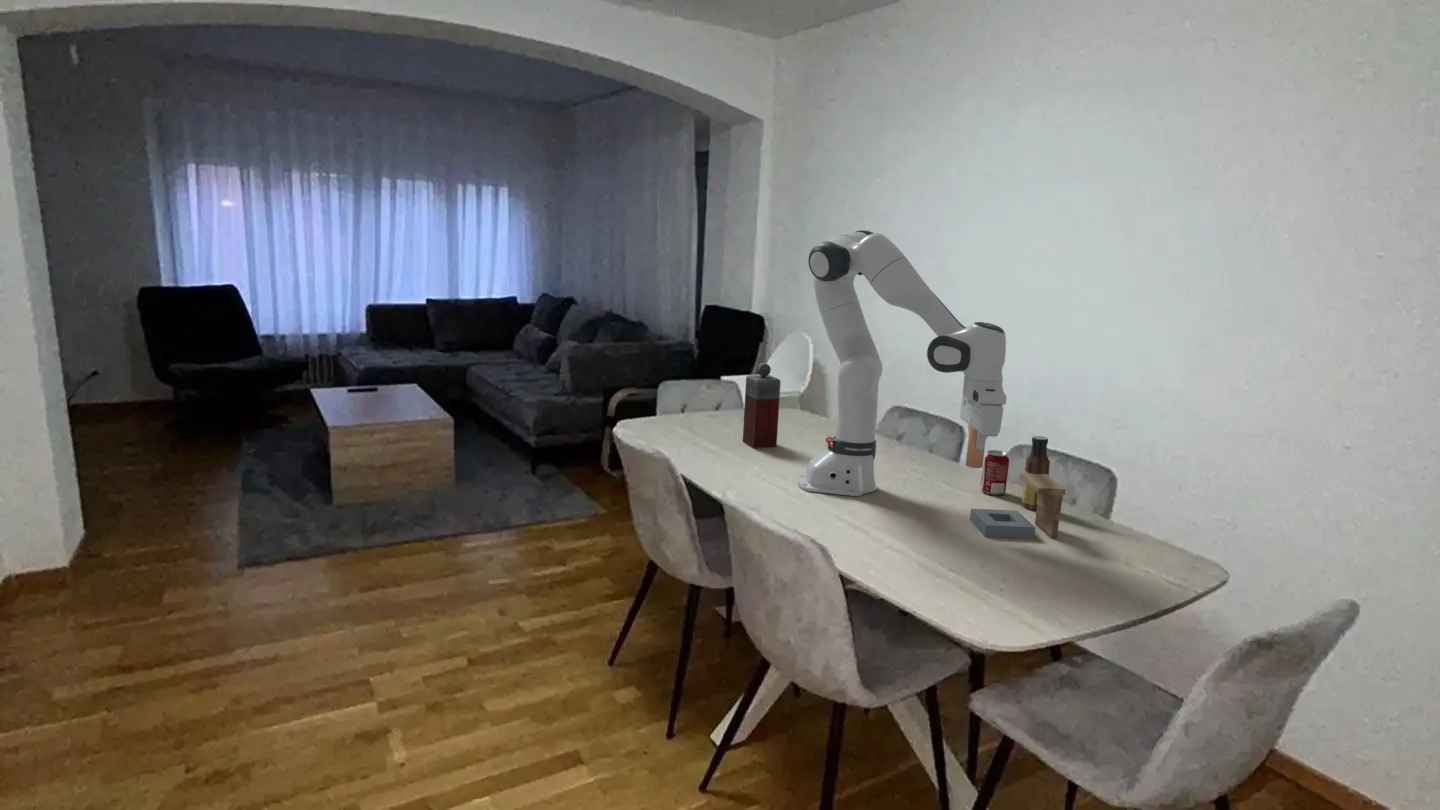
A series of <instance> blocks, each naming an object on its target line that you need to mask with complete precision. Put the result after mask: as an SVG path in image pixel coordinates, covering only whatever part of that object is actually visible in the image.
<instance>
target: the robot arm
mask: <svg viewBox="0 0 1440 810" xmlns="http://www.w3.org/2000/svg"><path fill="white" fill-rule="evenodd" d="M808 267H809V270H810V273H811V274H812V275H813V277H814V279H813V287H814V293H815V298H816V303H817V307H818V310H819V312H820V317H821V319H822V322H823V325H824V328H825V332H826V335H827V336H828V340H829V342H830V343H831V345H832V348H833V349H834V352H835V353H836V356H837V358H838V361H839V363H840V366H839V368H838V372H837V375H838V376H837V415H836V416H837V417H836V426H835V427H836V430H835V435H834V436H833V437H832V436H831V435H826V436H825V437H824V439H825V440H824V441H825V442H826V444H827V449H825V450H824V451H822V452H821V453H819V454H818V455H816V456H814V457H813V458H811V460H810V461H809V462H808V463H807V467H806V471H805V473H802V474H800V475H799V476H798V477H797V484H798V486H799V487H800V488H801V489H802V490H804V491H806V492H813V493H822V494H830V495H831V494H833V495H843V496H851V497H860V496H863V495H864V494H868V493H872V492H875V491H876V490H877V485H876V479H875V469H874V468H875V463H874V462H875V461H874V460H875V458H876V452H877V440H876V430H877V419H878V396H879V383H880V379H881V377H882V373H883V363H882V361H881V357H880V354H879V352H878V350H877V347H876V345H875V342H874V339H873V337H872V335H871V333H870V331H869V328H868V325H867V321H866V318H865V316H864V313H863V310H862V306H861V303H860V301H859V298H858V294H857V292H856V289H855V287H854V286H855V285H854V281H855V277H856V276H857V275H858V276H863V277H864V278H865V279H866V280H867V282H868V283H869V285H870V286H871V288H872V289H873V290H874V291H875V292H876V294H877V295H878V296H879V297H880V298H881V299H882V300H883V301H885V302H886V303H887V304H888V305H890V306H893V307H897V308H902V309H904V310H908V311H909V312H912V313H914V314H915V315H917V316H919V317H920V318H921V319H922V320H923V321H924V322H925V323H926V324H927V325H928V327H929V328H930V329H931V330H932V332H934V334H935V335H936V337H935V338H933V339H932V340H931V341H930V343H929V344H928V347H927V350H926V357H927V360H928V363H929V364H930V366H931V367H932V368H933V369H934V370H935V371H937V372H940V373H945V374H951V373H955V372H956V373H958V372H962V373H963V374H964V375H963V376H964V377H963V386H962V387H963V388H962V397H961V404H960V410H959V411H960V412H959V416H960V420H963V421H964V422H965V423H966V424H967V432H968V433H969V429H970V419H971V418H972V427H973V428H974V429H975V430H977V431H978V432H977V435H978V437H977V441H976V442H975V447H976V448H977V449H984V445H985V446H986V441H987V439H988V437H992V438H993V437H998V436H999V433H1000V431H1001V427H1002V422H1003V414H1004V406H1005V405H1006V403H1007V395H1006V393H1005V391H1004V387H1003V380H1004V379H1003V372H1002V371H1003V367H1004V364H1005V362H1006V353H1007V352H1006V348H1007V339H1006V333H1005V330H1003V328H1002V327H1000V326H998V325H995V324H993V323H989V322H983V321H977V322H973V323H972V324H970V325H969V326H967V327H966V326H964V324H962V323H961V322H960V321H959V320H958V319H957V318H956V317H955V315H954V314H953V313H952V312H951V311H950V309H949V308H948V307H947V306H946V305H945V304H944V302H942V301H941V299H940V298H939V297H938V296H937V295H936V294H935V292H933V291H932V290H931V288H930V287H929V285H928V284H927V283H926V282H925V281H924V279H923V278H922V277H921V276H920V274H919V273H918V271H917V270H916V269H915V268H914V266H913V265H912V263H911V262H910V260H909V259H908V258H907V256H906V255H905V254H904V253H903V252H902V250H900V249H899V248H898V246H896V244H894V243H893V242H892V241H891V240H890V239H889V238H888V237H887V236H886V235H884V234H882V233H879V232H878V233H877V232H875V233H874V232H872V231H870V230H861V229H860V230H856V231H852V232H847V233H843V234H840V235H837V236H836V237H833V238H830V239H829V240H825V241H821V242H820V243H818V244H816V245H815V246H814V247H813V248H812V249H811V250H810V252H809V254H808ZM1003 405H1004V406H1003ZM984 450H985V449H984Z"/></svg>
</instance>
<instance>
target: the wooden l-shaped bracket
mask: <svg viewBox="0 0 1440 810" xmlns="http://www.w3.org/2000/svg"><path fill="white" fill-rule="evenodd" d="M1019 480H1020V481H1022V483H1023V484H1024V483H1025V484H1026V485H1028V486H1029V487H1030V488H1031V489H1032V490H1034V491H1035V492H1036V493H1037V494H1039V497H1038V504H1037V511H1036V510H1035V511H1036V513H1035V520H1034V525H1035V526H1036V527H1037V528H1039V529H1040V530H1041V531H1042V532H1043V533H1044V534H1045V535H1046V536H1048V538H1050V539H1057V537H1058V531H1059V525H1060V518H1061V511H1062V504H1063V496H1065V495H1066V488H1065V487H1063V486H1062V485H1061V484H1059V483H1058V482H1057V481H1055V480H1054V479H1052V478H1051V477H1050V476H1049V477H1048V476H1047V475H1043V474H1025V473H1021V472H1020V473H1019Z"/></svg>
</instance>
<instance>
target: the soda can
mask: <svg viewBox="0 0 1440 810" xmlns="http://www.w3.org/2000/svg"><path fill="white" fill-rule="evenodd" d="M1008 454H1009V453H1008V452H1006V451H1002V450H997V449H990V450H987V454H985V456H984V459H983V467H982V468H983V469H982V476H981V484H980V491H982V492H986V493H987V494H986V493H985V494H986V495H989V494H991V495H990V496H1002V495H1004V494H1005V493H1006V489H1007V483H1008V475H1009V474H1008V473H1009V468H1010V467H1009V466H1010V459H1009V457H1008ZM1001 494H1002V495H1001Z"/></svg>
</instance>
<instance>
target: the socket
mask: <svg viewBox="0 0 1440 810" xmlns="http://www.w3.org/2000/svg"><path fill="white" fill-rule="evenodd" d="M969 521H971V523H972V524H973V525H974V526H975V527H976V528H977V530H978V531H979V532H980V533H981V534H982V535H983V536H984V537H985V538H1002V539H1003V538H1004V539H1005V538H1007V539H1023V540H1024V539H1026V540H1030V539H1031V540H1034V539H1035V532H1036V525H1035V526H1034V525H1033V524H1032V523H1031V522H1030V520H1028V519H1027V518H1026V517H1025V516H1024V514H1022V513H1020V511H1018V510H1013V509H1012V510H1011V509H1010V510H1009V509H988V508H987V509H986V508H985V509H984V508H970V516H969Z"/></svg>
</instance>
